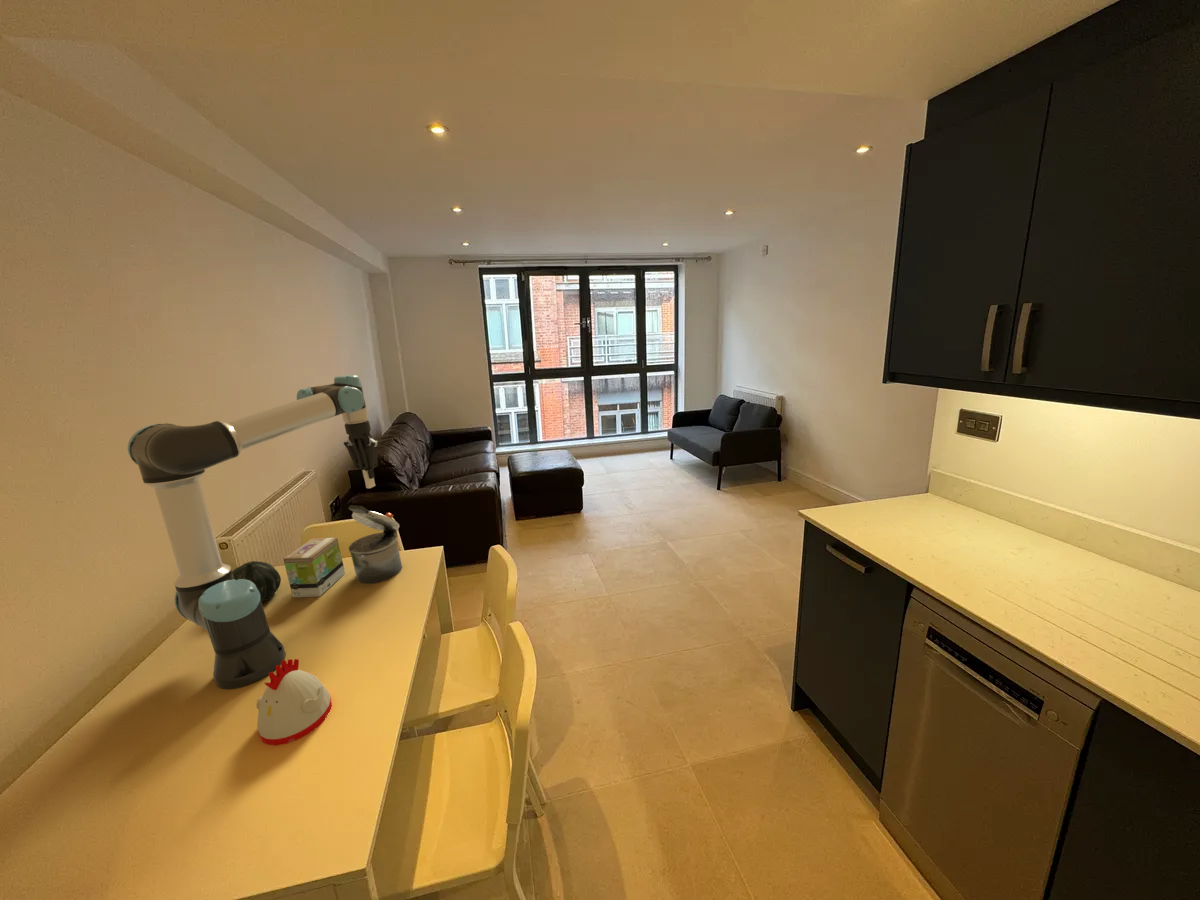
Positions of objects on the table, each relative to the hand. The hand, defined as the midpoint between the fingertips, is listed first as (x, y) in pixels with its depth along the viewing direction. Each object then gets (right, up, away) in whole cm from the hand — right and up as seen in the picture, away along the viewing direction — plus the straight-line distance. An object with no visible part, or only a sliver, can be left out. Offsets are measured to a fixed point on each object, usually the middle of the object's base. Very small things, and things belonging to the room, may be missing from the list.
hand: (370, 486), depth 161 cm
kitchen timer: (+12, -48, -57) cm, 76 cm away
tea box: (-17, -34, -1) cm, 38 cm away
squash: (-34, -37, -7) cm, 51 cm away
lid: (0, -12, +1) cm, 12 cm away
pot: (+1, -31, +5) cm, 32 cm away
